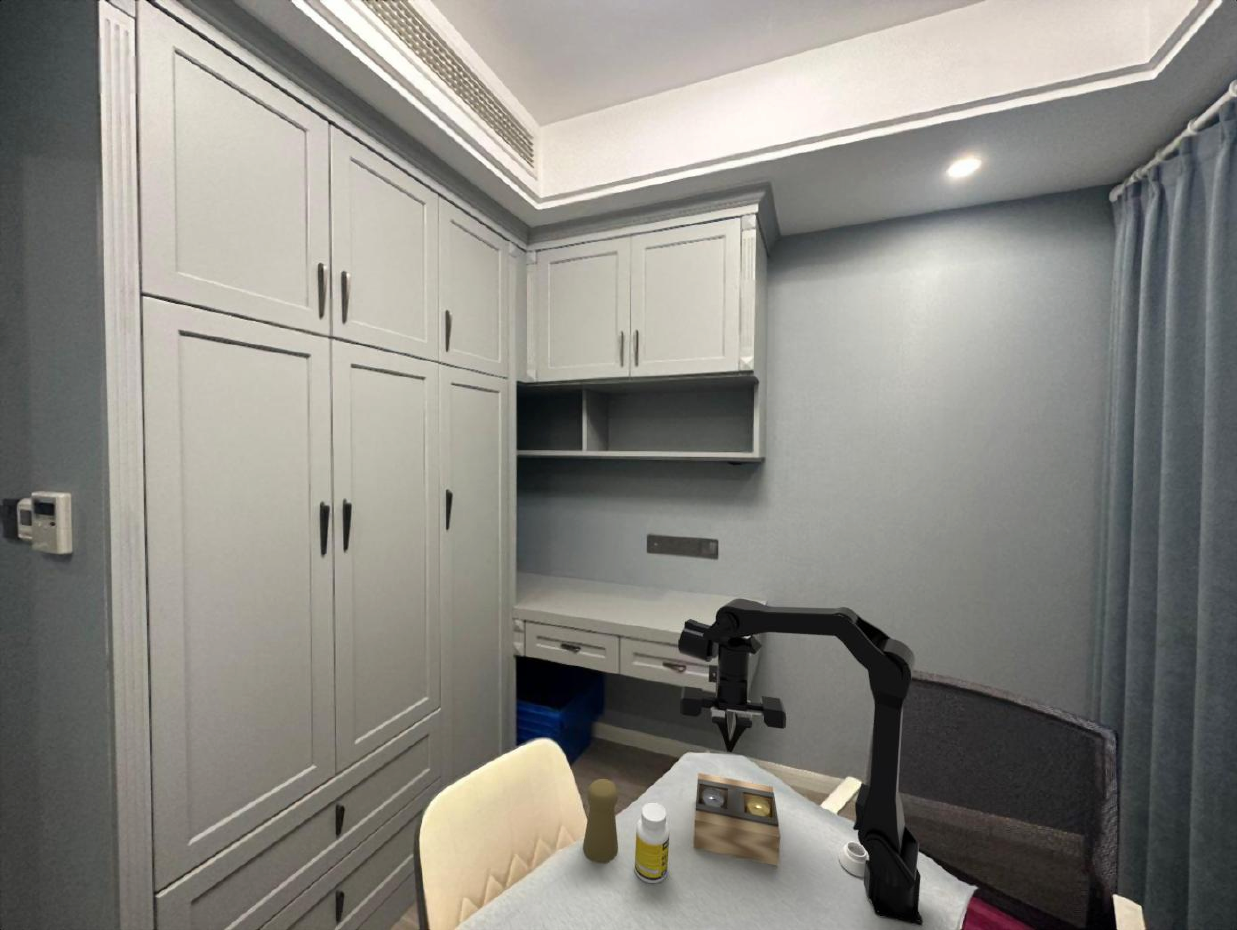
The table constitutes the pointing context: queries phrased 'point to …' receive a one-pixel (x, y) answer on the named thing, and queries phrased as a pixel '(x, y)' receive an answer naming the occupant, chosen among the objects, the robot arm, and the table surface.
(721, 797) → the steel plunger
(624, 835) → the table surface
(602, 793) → the olive brown pepper mill
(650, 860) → the supplement bottle
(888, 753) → the robot arm
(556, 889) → the table surface
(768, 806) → the brass plunger
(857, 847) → the white jar
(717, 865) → the table surface
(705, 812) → the socket board
